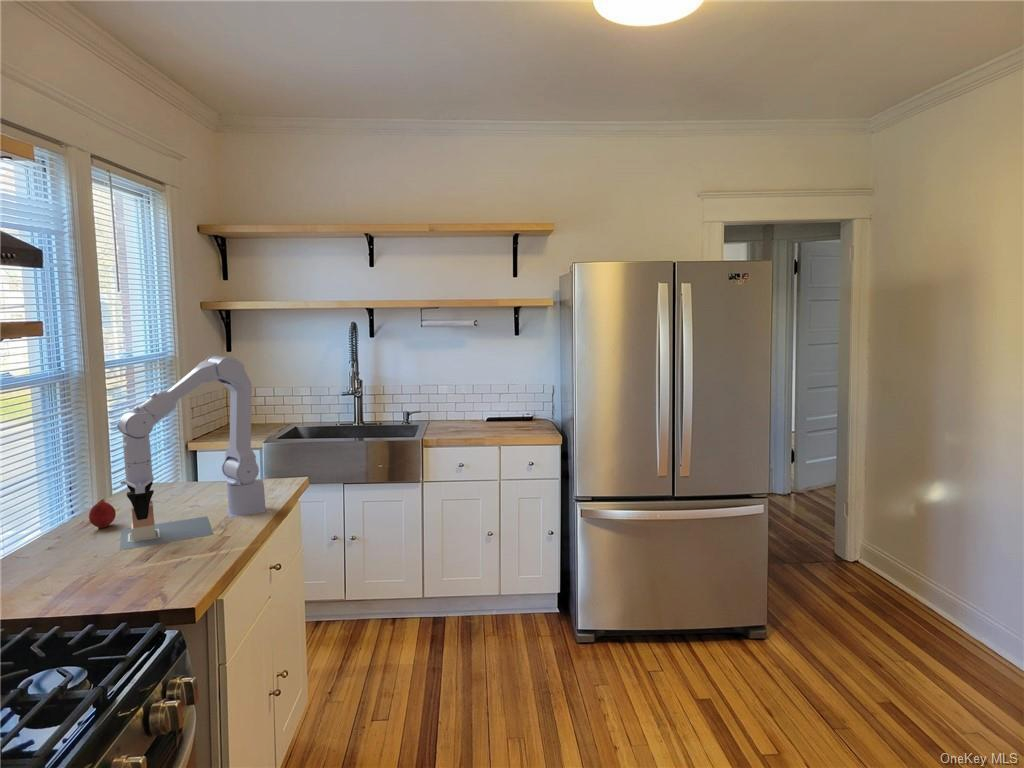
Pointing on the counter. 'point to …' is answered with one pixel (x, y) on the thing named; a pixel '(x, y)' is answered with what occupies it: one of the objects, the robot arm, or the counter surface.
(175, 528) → the board
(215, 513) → the counter surface
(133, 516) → the terracotta block
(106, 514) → the onion
